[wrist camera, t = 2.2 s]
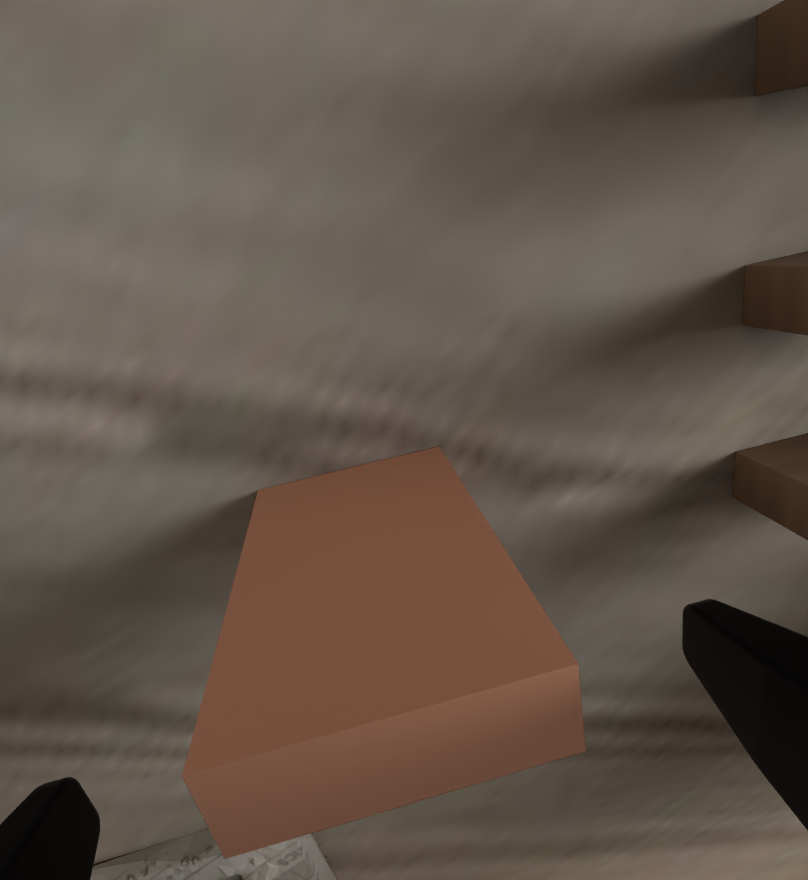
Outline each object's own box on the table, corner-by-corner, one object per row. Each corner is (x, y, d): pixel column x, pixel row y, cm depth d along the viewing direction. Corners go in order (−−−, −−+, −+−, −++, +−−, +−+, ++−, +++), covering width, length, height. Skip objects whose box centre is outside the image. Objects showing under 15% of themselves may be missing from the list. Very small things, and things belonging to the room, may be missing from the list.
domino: (448, 497, 14) (585, 751, 7) (274, 540, 14) (224, 858, 7) (439, 446, 14) (578, 663, 6) (258, 490, 13) (181, 776, 6)
